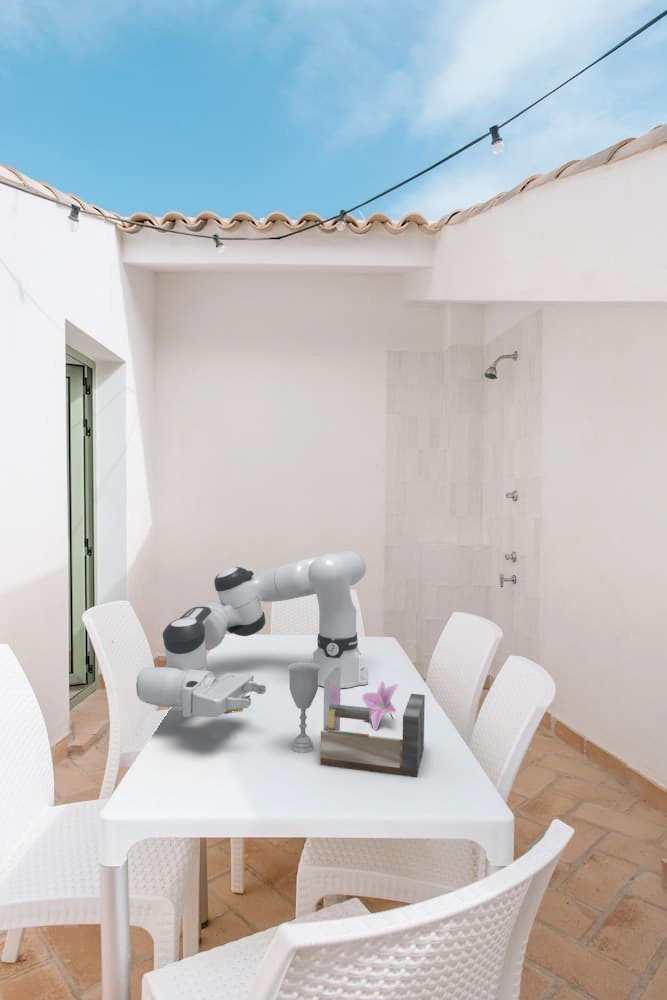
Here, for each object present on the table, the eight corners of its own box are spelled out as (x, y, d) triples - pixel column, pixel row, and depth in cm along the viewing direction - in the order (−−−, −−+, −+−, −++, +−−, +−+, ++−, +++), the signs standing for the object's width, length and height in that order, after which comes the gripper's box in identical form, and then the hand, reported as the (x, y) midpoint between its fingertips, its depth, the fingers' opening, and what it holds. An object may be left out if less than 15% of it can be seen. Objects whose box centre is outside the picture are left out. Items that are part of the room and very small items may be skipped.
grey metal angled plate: (334, 733, 136) (335, 667, 136) (373, 737, 134) (374, 670, 134) (321, 753, 125) (322, 682, 125) (363, 758, 123) (365, 686, 123)
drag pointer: (329, 751, 126) (330, 709, 126) (335, 752, 126) (335, 709, 126) (328, 754, 125) (328, 711, 125) (333, 755, 125) (334, 711, 125)
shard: (250, 700, 164) (250, 693, 164) (263, 708, 158) (264, 702, 158) (213, 708, 158) (213, 701, 158) (226, 717, 152) (226, 710, 152)
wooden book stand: (336, 738, 138) (337, 686, 138) (423, 748, 133) (424, 694, 133) (320, 765, 124) (321, 707, 124) (416, 777, 120) (417, 717, 119)
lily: (362, 715, 156) (349, 687, 153) (404, 698, 156) (392, 669, 153) (371, 748, 145) (357, 718, 141) (416, 729, 145) (403, 699, 141)
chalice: (319, 741, 136) (320, 662, 136) (319, 754, 130) (320, 671, 130) (286, 741, 136) (288, 662, 136) (285, 754, 129) (286, 671, 129)
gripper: (220, 689, 149) (273, 695, 145) (179, 719, 129) (239, 726, 126) (220, 664, 149) (273, 669, 145) (180, 690, 129) (240, 696, 126)
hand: (257, 696), depth 135 cm, fingers open, 8 cm apart
